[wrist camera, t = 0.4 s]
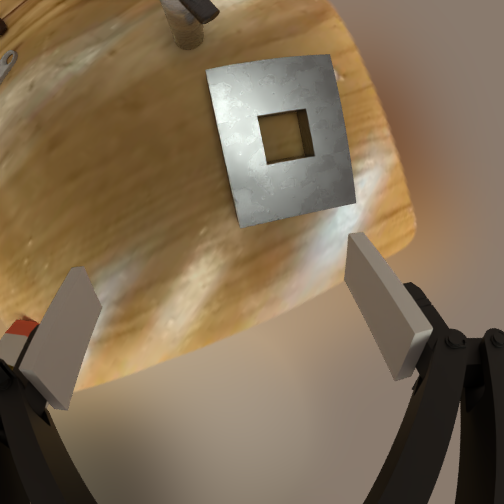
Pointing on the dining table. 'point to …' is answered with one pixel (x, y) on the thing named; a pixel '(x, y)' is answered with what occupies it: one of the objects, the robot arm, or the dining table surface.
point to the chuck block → (311, 127)
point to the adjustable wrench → (1, 66)
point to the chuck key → (188, 20)
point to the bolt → (2, 26)
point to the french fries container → (15, 341)
